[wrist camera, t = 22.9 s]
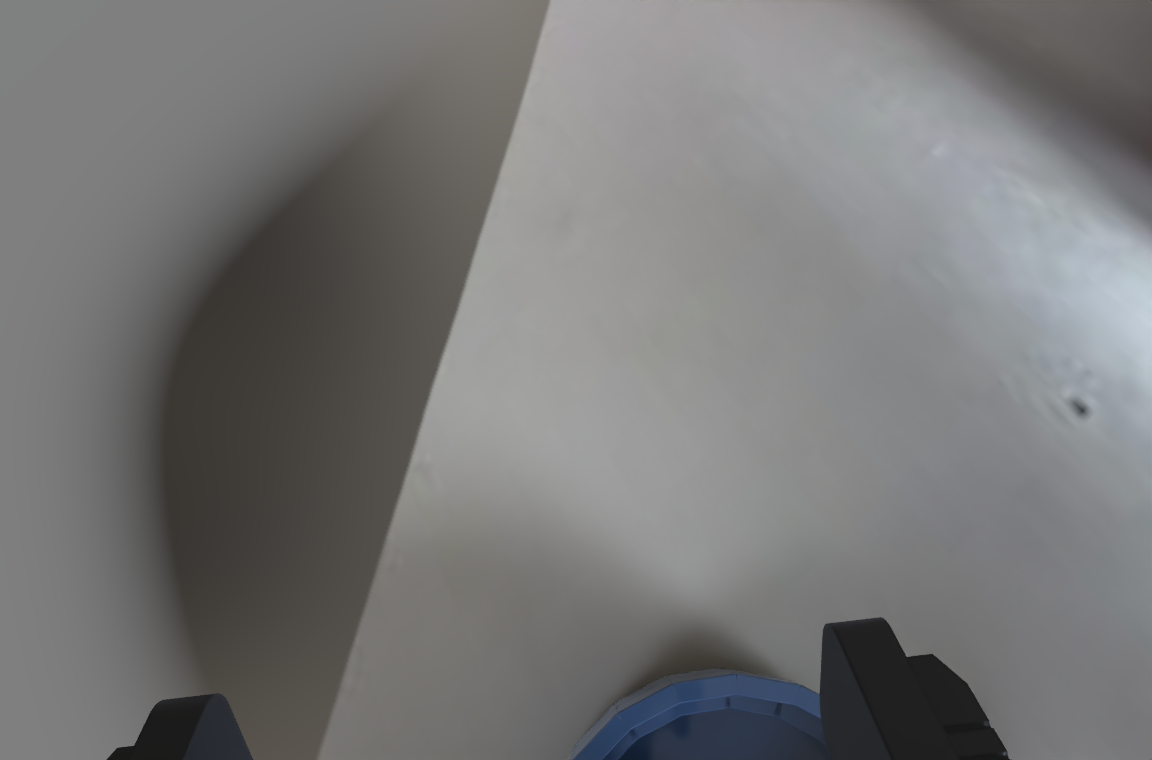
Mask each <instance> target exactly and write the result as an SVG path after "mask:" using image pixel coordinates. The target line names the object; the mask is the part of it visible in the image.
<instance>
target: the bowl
mask: <svg viewBox="0 0 1152 760" xmlns="http://www.w3.org/2000/svg"><path fill="white" fill-rule="evenodd" d="M568 760H832V759H831V756H830V753H829V751H828V747H827V744H826V740H825V737H824V732H823V727H822V722H821V715H820V695H819V694H817V693H815V692H813V691H812V690H810V689H808V688H806V687H804V686H802V685H799V684H796V683H793V682H789V681H785V680H781V679H778V678H774V677H769V676H763V675H758V674H752V673H746V672H741V671H735V670H729V669H724V668H713V669H707V670H700V671H694V672H687V673H681V674H675V675H668V676H665V677H662V678H660V679H658V680H656V681H654V682H652V683H650V684H648V685H647V686H645V687H643V688H641V689H639V690H637V691H635V692H633V693H632V694H630V695H628V696H626V697H624V698H622V699H620V700H618V701H616V703H615V704H613V705H612V706H611V707H610V708H609V709H608V710H607V712H606V713H605V714H604V715H603V716H602V717H601V718H600V719H599V720H598V721H597V722H596V723H595V724H594V725H593V726H592V727H591V728H590V730H589V731H588V732H587V733H586V734H585V735H584V736H583V737H582V738H581V739H580V740H579V741H578V742H577V745H575V747H574V749H573V751H572V753H571V755H570V757H569V759H568Z"/></svg>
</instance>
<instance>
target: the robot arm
mask: <svg viewBox="0 0 1152 760" xmlns="http://www.w3.org/2000/svg"><path fill="white" fill-rule="evenodd" d="M820 715H821V722H822V727H823V732H824V737H825V740H826V744H827V747H828V751H829V753H830V756H831V759H832V760H1010V759H1009V758H1008V755H1007V750H1006V749H1005V747H1004V745H1003V744H1002V742H1001V740H1000V738H999V737H998V735H997V733H996V732H995V730H994V728H991V727H990V725H989V720H988V718H987V716H986V715H985V713H984V711H983V710H982V708H981V706H980V705H979V703H978V701H977V699H976V698H975V696H974V694H973V693H972V691H971V689H970V688H969V686H968V684H967V683H966V682H965V681H963V680H962V679H961V678H960V677H959V676H958V675H956V674H955V673H954V672H953V671H952V670H951V669H949V668H948V667H947V666H946V665H945V664H944V663H942V662H941V661H940V660H939V659H938V658H937V657H935V656H934V655H933V654H928V655H920V656H911V657H906V655H905V653H904V652H903V650H902V648H901V646H900V644H899V642H898V640H897V638H896V636H895V634H894V633H893V631H892V629H891V627H890V625H889V624H888V623H887V621H886V620H885V619H884V618H881V617H880V618H871V619H863V620H854V621H846V622H837V623H829V624H825V626H824V629H823V637H822V659H821V681H820ZM107 760H253V759H252V756H251V754H250V752H249V749H248V747H247V745H246V742H245V740H244V738H243V736H242V733H241V731H240V729H239V726H238V724H237V722H236V719H235V717H234V715H233V713H232V710H231V708H230V705H229V703H228V701H227V699H226V698H225V697H224V696H223V695H222V694H210V695H201V696H193V697H184V698H176V699H167V700H162V701H160V702H159V703H157V704H156V705H155V706H154V708H153V709H152V711H151V713H150V714H149V716H148V718H147V720H146V723H145V725H144V727H143V729H142V731H141V733H140V735H139V737H138V739H137V741H136V743H135V745H134V746H129V747H121V748H117V749H116V750H115V751H114V752H113V753H112V754H111V756H110V757H109V758H108V759H107Z"/></svg>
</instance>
